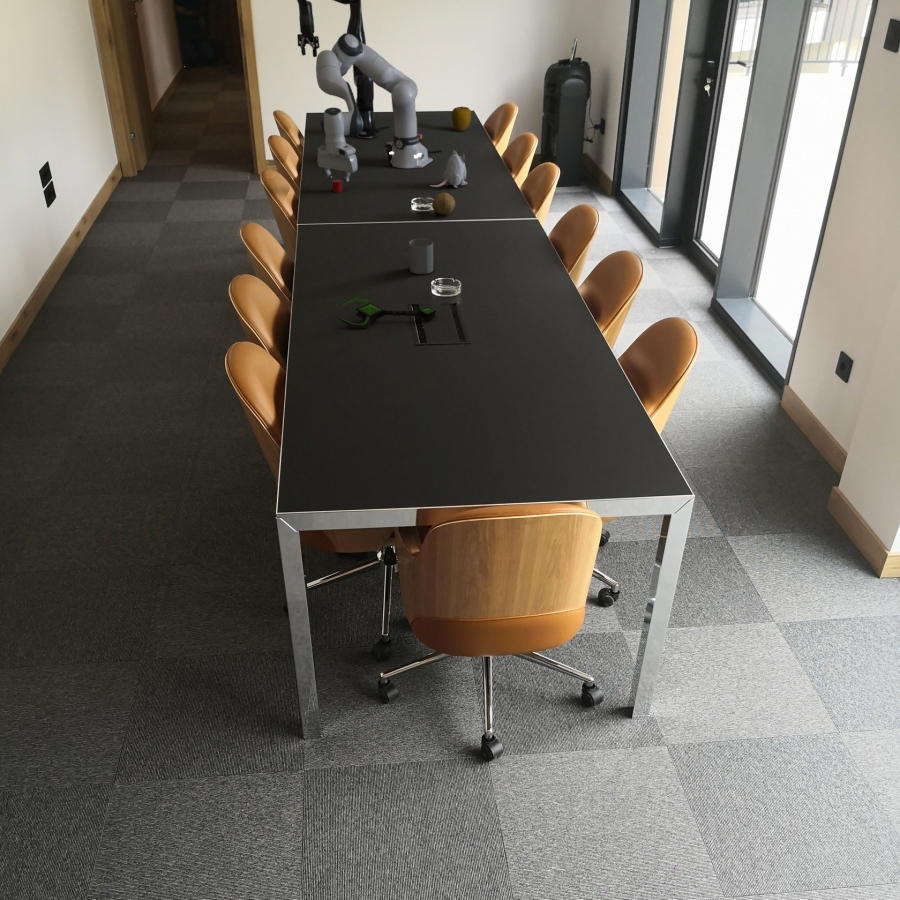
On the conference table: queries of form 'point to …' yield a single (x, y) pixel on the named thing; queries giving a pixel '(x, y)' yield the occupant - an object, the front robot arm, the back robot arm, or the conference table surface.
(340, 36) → the front robot arm
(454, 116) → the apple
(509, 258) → the conference table surface
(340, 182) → the tin
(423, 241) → the cup
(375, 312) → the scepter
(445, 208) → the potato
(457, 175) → the toy
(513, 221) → the conference table surface
